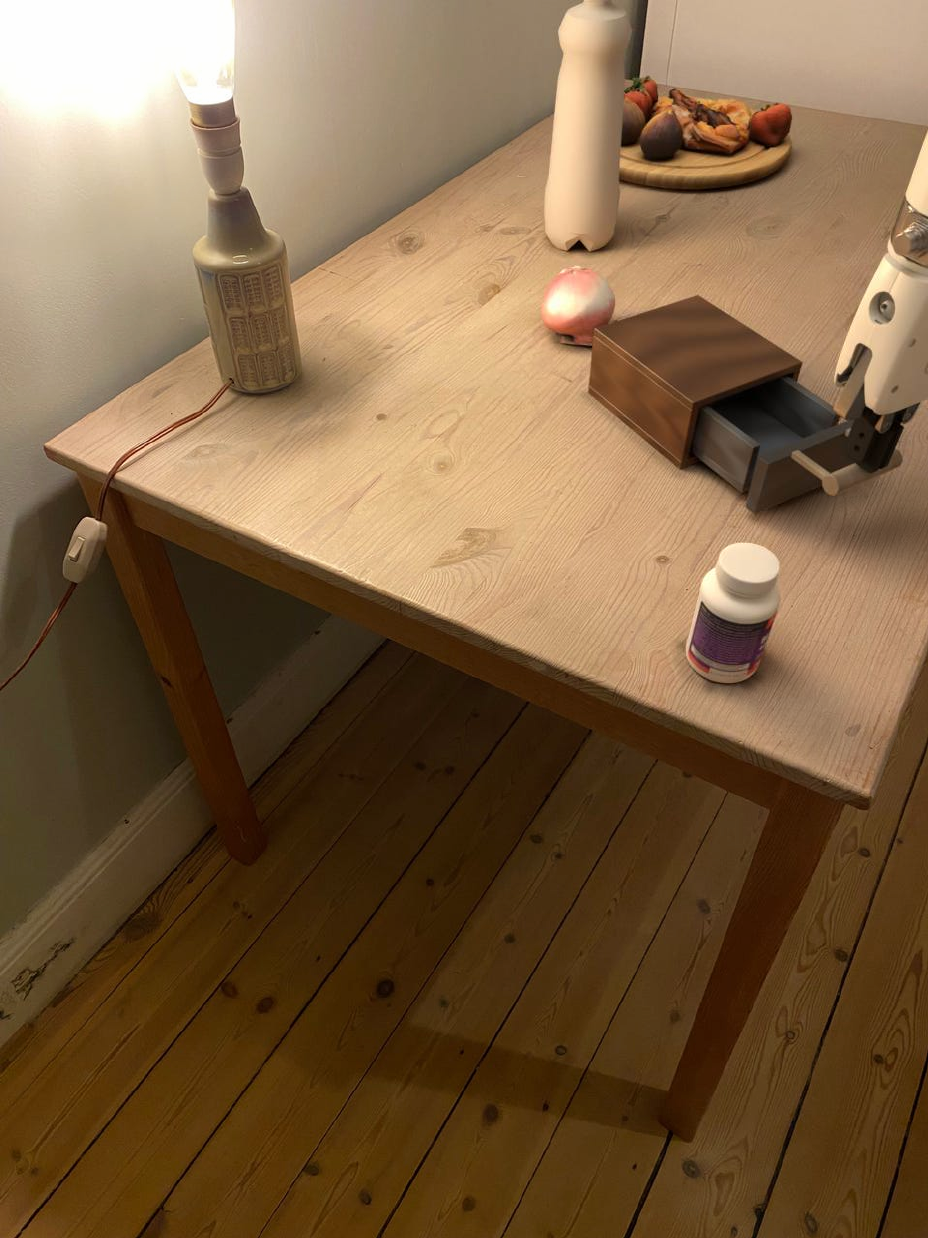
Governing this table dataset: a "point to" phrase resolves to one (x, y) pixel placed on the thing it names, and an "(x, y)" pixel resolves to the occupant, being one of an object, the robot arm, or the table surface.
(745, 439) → the drawer
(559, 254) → the table surface
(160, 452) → the table surface
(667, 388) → the cabinet
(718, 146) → the wooden plate
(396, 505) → the table surface
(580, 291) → the onion
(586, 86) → the bottle
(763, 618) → the pill bottle
